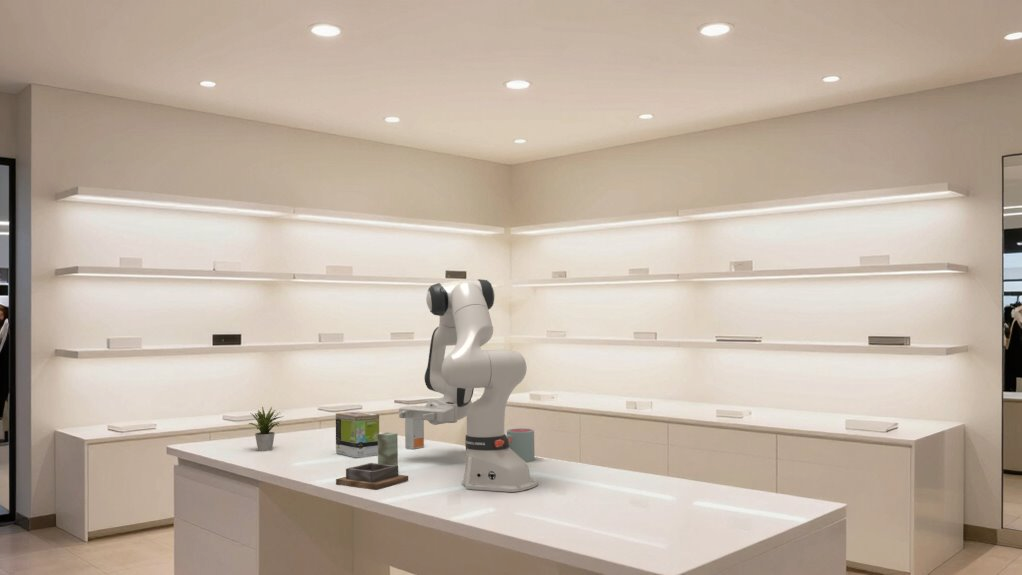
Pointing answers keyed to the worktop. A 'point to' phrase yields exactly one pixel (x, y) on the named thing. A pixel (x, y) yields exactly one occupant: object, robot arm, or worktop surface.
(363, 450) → the tea box
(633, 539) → the worktop surface
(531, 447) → the mug
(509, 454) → the robot arm
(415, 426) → the skincare box
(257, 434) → the house plant
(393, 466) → the display stand
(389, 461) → the green peg
